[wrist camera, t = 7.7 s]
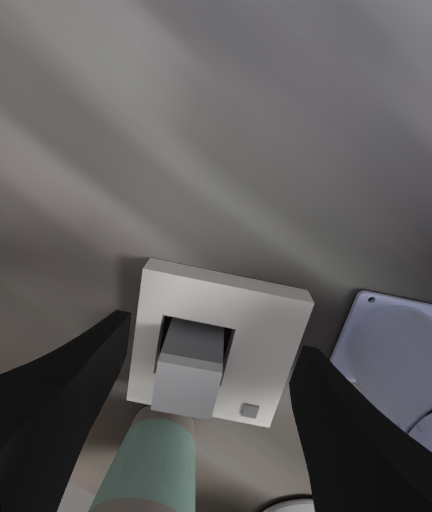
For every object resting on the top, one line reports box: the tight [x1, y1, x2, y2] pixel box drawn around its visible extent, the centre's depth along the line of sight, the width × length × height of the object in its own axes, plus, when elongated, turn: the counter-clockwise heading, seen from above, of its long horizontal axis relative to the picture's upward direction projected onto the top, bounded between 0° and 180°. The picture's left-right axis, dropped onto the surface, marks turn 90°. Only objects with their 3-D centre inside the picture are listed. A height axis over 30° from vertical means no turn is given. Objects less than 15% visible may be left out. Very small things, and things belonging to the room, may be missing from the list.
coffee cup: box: [88, 405, 195, 512], centre depth 23 cm, size 8×9×12 cm
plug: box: [151, 317, 224, 421], centre depth 22 cm, size 4×4×6 cm
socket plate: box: [126, 258, 315, 428], centre depth 24 cm, size 12×12×2 cm
